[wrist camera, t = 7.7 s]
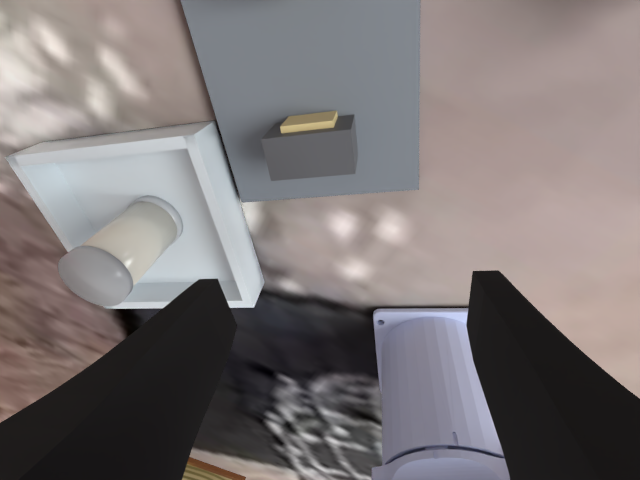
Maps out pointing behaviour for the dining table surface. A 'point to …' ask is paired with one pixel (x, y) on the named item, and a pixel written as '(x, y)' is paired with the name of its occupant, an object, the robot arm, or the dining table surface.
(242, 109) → the fuse panel
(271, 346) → the dining table surface
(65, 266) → the fuse
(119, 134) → the parts tray
